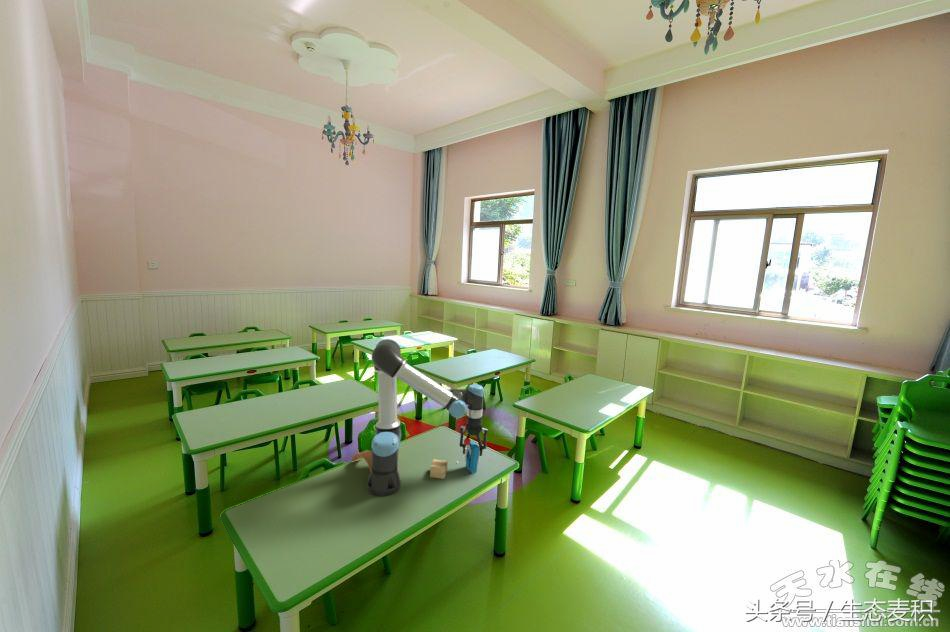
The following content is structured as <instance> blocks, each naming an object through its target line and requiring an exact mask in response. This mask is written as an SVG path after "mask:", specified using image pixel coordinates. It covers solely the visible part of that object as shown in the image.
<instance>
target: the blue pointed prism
mask: <svg viewBox="0 0 950 632" xmlns="http://www.w3.org/2000/svg"><path fill="white" fill-rule="evenodd" d="M463 444H465V445H466V446H467V460H466V461H465V467H467V468H468V469H469V470H468V469H467V468H466V469H467V470H468V471H469V472H470V473H471V474H472V473H473V474H476V473H477V472H478V471H477V470H478V464H479V463H478V455H479V444H478V445H477V444H476V443H475V442H474V441H471V439H470V437H469V438H467V437H466V438H463ZM469 465H470V466H469Z"/></svg>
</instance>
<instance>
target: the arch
mask: <svg viewBox="0 0 950 632" xmlns="http://www.w3.org/2000/svg"><path fill="white" fill-rule="evenodd" d="M361 457H362V458H361ZM359 458H361V459H363V460H364V461H365V462H366V464H367V466H368V468H369V472H370V473H371V461H372V450H364V451H361V452H359V453H355V454H353V456H352V458H351V461H354V460H357V459H359ZM354 463H357V462H356V461H354V462H352V464H354Z"/></svg>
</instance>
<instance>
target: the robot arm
mask: <svg viewBox="0 0 950 632" xmlns="http://www.w3.org/2000/svg"><path fill="white" fill-rule="evenodd" d="M401 353H402V351H401V347H400V345H399V343H398V342H397V341H396V340H394V339H391V338H384V339H382V340H380V341H379V342H378V343H377V344H376V346H375V348H374V349H373V350H372V353H371V361H372V363H373V365H374V370H375V371H376V372H377V381H378V383H377V386H378V390H377V394H378V421H377V422H376V423H375V435H374V436H373V438H372V440H371V444H370V445H371V451H372V461H371V472H370V473H369V476H368V478H367V481H366V490H367V492H368V493H369V494H372V495H374V496H381V497H384V496H390V495H393V494H395V493H397V492H398V491H400V489H401V487H402V478H401V476H400V472H399V466H398V465H399V451H400V444H401V439H402V430H401V421H400V420H399V419H398V389H397V388H398V383H397V382H398V381H397V380H399V381H401V382H403V383H404V384H406V385H408V386H409V387H410V388H412V389H414V390H415V391H417V392H419V393H420V394H421V395H423V396H425V397H426V398H428V399H429V400H431V401H433V402H434V403H436V404H437V405H439V406H441V407H442V408H443V409H445V410H446V411H448V412H449V415H451V416H452V417H453V418H456V419H458V418H462V417H463V416H464V415H465V414H466V415H467V416H466V425H464V426H463V425H461V426H460V427H459V431H460V438H459V447H460V448H461V447H462V455H464V462H466V460H467V451H468V447H467V445H465V444H464V434H465V431H467V436H466V438H469V439H470V436H475V437H476V439H477V444H478V446H479V455H478V463H477V464H480V460H481V457H482V456H483V450H486V449H487V433H488V428H486V427H485V428H484V427H483V413H484V412H483V411H484V409H483V408H484V391H485V390H484V387H483V385H482V384H477V383H473V384H470V385H469V386H468V387H467V389H466V388H465V389H464V388H458V389H457V388H445V387H444V386H442V385H441V384H439V383H438V382H436V381H434V380H433V379H431V378H430V377H429V376H427V375H425V374H424V373H422V372H420V371H419V370H418V369H417V368H415V367H413V366H411V364H409V363H407V361H406V358H404V357H402V356H401ZM466 411H467V412H466ZM481 432H482V433H483V442H482V439H481V438H482V437H481V434H480V433H481Z"/></svg>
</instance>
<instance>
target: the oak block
mask: <svg viewBox="0 0 950 632" xmlns="http://www.w3.org/2000/svg"><path fill="white" fill-rule="evenodd" d="M448 465H449V461H448V460H442V459H433V460H432V462H431V465H430V467H429V468H430V470H429V472H430V473H429V478H436V479H437V478H438V479H443V480H445V479H446V475H447V472H448Z"/></svg>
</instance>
